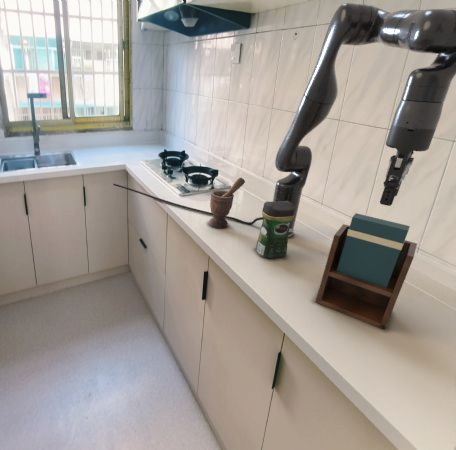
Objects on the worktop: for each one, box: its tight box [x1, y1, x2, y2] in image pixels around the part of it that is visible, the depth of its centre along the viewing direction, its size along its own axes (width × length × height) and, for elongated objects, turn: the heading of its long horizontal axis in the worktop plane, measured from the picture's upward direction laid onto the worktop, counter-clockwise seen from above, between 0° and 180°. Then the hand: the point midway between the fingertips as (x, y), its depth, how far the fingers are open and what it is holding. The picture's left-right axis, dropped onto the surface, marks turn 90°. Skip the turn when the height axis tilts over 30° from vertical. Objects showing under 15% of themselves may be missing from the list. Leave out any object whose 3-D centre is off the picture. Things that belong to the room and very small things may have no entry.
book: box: [337, 212, 411, 288], centre depth 81 cm, size 11×4×15 cm, turn 51°
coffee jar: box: [255, 201, 295, 259], centre depth 111 cm, size 10×8×19 cm
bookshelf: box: [315, 223, 418, 331], centre depth 85 cm, size 16×9×20 cm, turn 50°
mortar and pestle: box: [208, 177, 246, 229], centre depth 131 cm, size 12×9×20 cm
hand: (388, 199), depth 75 cm, fingers open, 8 cm apart
